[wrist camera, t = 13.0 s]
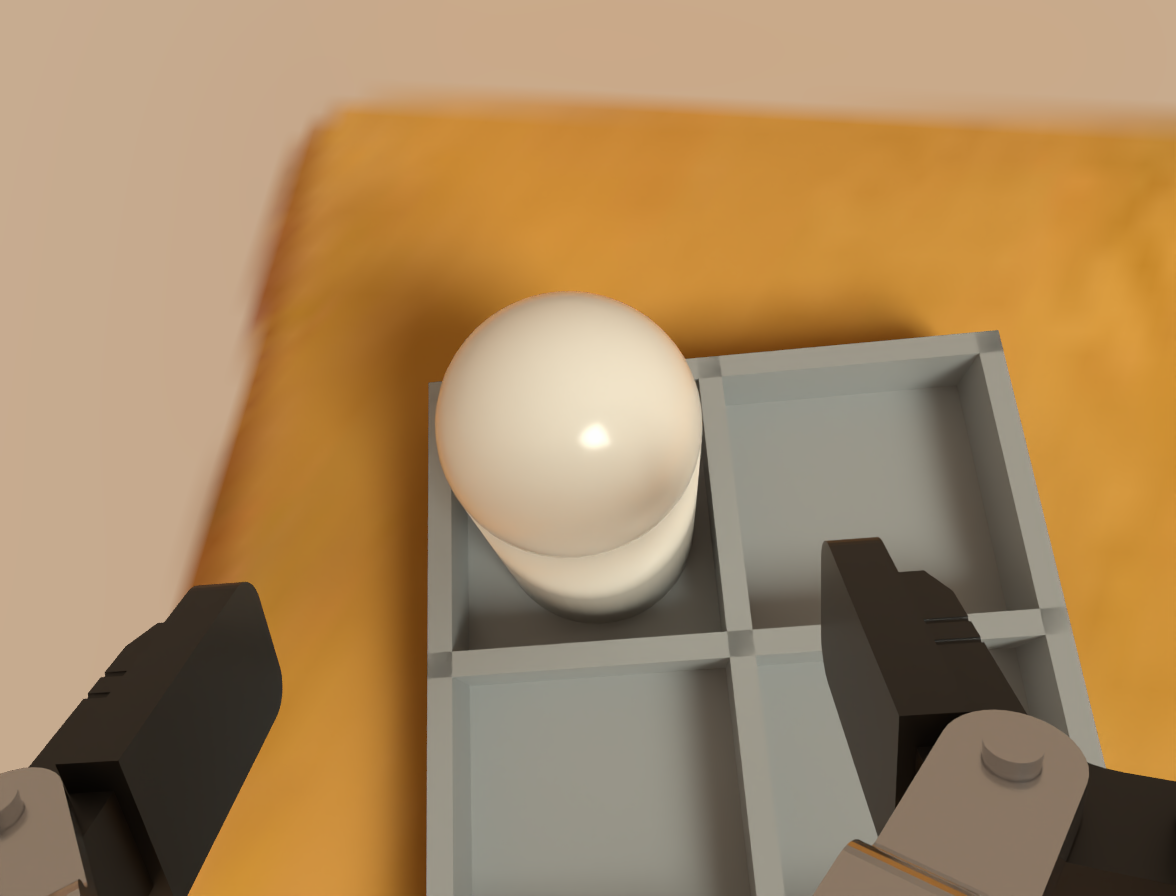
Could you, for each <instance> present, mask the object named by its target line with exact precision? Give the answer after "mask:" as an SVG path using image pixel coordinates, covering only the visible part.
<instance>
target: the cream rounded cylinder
mask: <svg viewBox="0 0 1176 896" xmlns="http://www.w3.org/2000/svg"><path fill="white" fill-rule="evenodd" d="M435 433H436V444H437V450H438V455H439V460H440V463H441V466H442V469H443V471H444V474H445V477H446V479H447V481H448V483H449V485H450V487H451V489H452V491H453V492H454V494H455V496H456V498H457V499H458V500H459V502H460V503H461V505H462V506H463V507H464V509H465V510H466V512H467V513H468V514H469V516H470V517H471V518H472V520H473V521H474V523H475V524H476V525H477V527H478V528H479V530H480V531H481V532H482V534H483V535H484V536H485V538H486V539H487V541H488V542H489V543H490V545H491V546H492V548H493V549H494V550H495V552H496V553H497V554H498V556H499V557H500V559H501V560H502V561H503V563H504V564H505V566H506V567H507V568H508V570H509V571H510V572H511V574H512V575H513V577H514V578H515V579H516V581H517V582H518V584H519V585H520V586H521V588H522V589H523V590H524V591H525V592H526V594H527V595H528V596H529V597H530V598H531V599H532V600H534V601H535V602H536V603H537V604H539V605H540V606H541V607H543V608H544V609H546V610H548V611H549V612H551V613H553V614H555V615H558V616H560V617H562V618H565V619H569V620H572V621H576V622H582V623H600V624H602V623H610V622H616V621H620V620H624V619H628V618H630V617H633V616H635V615H638V614H640V613H642V612H643V611H645V610H647V609H649V608H650V607H652V606H653V605H654V604H656V603H657V602H658V601H660V600H661V599H662V598H663V597H664V596H665V595H666V594H667V593H668V592H669V591H670V590H671V589H672V587H673V586H674V585H675V583H676V582H677V581H678V579H679V578H680V576H681V574H682V572H683V571H684V569H685V566H686V564H687V561H688V559H689V555H690V552H691V548H692V541H693V532H694V521H695V510H696V499H697V488H698V476H699V465H700V454H701V443H702V409H701V403H700V397H699V392H698V389H697V386H696V383H695V380H694V377H693V375H692V372H691V370H690V368H689V366H688V364H687V362H686V360H685V358H684V356H683V355H682V353H681V352H680V350H679V349H678V347H677V346H676V344H675V343H674V342H673V341H672V340H671V339H670V337H669V336H668V335H667V334H666V333H665V332H664V331H663V330H662V329H661V328H660V327H659V326H658V325H657V324H656V323H654V322H653V321H652V320H651V319H650V318H649V317H647V316H646V315H644V314H643V313H641V312H639V311H638V310H636V309H635V308H633V307H631V306H628V305H626V304H624V303H622V302H620V301H617V300H614V299H612V298H609V297H606V296H603V295H598V294H593V293H588V292H578V291H558V292H550V293H543V294H539V295H535V296H531V297H528V298H525V299H522V300H520V301H517V302H515V303H512V304H510V305H509V306H507V307H505V308H503V309H501V310H499V311H498V312H496V313H495V314H493V315H492V316H490V317H489V318H487V319H486V320H485V321H484V322H483V323H482V324H481V325H479V326H478V327H477V328H476V329H475V330H474V331H473V332H472V333H471V334H470V336H469V337H468V338H467V339H466V340H465V341H464V343H463V344H462V345H461V347H460V348H459V350H458V351H457V352H456V354H455V355H454V357H453V359H452V361H451V363H450V365H449V366H448V368H447V370H446V373H445V376H444V378H443V381H442V384H441V387H440V392H439V396H438V400H437V405H436V415H435Z"/></svg>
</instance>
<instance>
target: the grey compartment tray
mask: <svg viewBox="0 0 1176 896" xmlns="http://www.w3.org/2000/svg"><path fill="white" fill-rule="evenodd" d="M685 360H686V362H687V364H688V366H689V368H690V370H691V372H692V375H693V377H694V380H695V383H696V386H697V389H698V392H699V397H700V403H701V409H702V443H701V454H700V465H699V476H698V488H697V499H696V510H695V521H694V532H693V541H692V548H691V552H690V555H689V559H688V561H687V564H686V566H685V569H684V571H683V572H682V574H681V576H680V578H679V579H678V581H677V582H676V583H675V585H674V586H673V587H672V589H671V590H670V591H669V592H668V593H667V594H666V595H665V596H664V597H663V598H662V599H661V600H660V601H658V602H657V603H656V604H654V605H653V606H652V607H650V608H649V609H647V610H645V611H643V612H642V613H640V614H638V615H635V616H633V617H630V618H628V619H624V620H620V621H616V622H610V623H602V624H600V623H582V622H576V621H572V620H569V619H565V618H562V617H560V616H558V615H555V614H553V613H551V612H549V611H548V610H546V609H544V608H543V607H541V606H540V605H539V604H537V603H536V602H535V601H534V600H532V599H531V598H530V597H529V596H528V595H527V594H526V592H525V591H524V590H523V589H522V588H521V586H520V585H519V584H518V582H517V581H516V579H515V578H514V577H513V575H512V574H511V572H510V571H509V570H508V568H507V567H506V566H505V564H504V563H503V561H502V560H501V559H500V557H499V556H498V554H497V553H496V552H495V550H494V549H493V548H492V546H491V545H490V543H489V542H488V541H487V539H486V538H485V536H484V535H483V534H482V532H481V531H480V530H479V528H478V527H477V525H476V524H475V523H474V521H473V520H472V518H471V517H470V516H469V514H468V513H467V512H466V510H465V509H464V507H463V506H462V505H461V503H460V502H459V500H458V499H457V498H456V496H455V494H454V492H453V491H452V489H451V487H450V485H449V483H448V481H447V479H446V477H445V474H444V471H443V469H442V466H441V463H440V460H439V455H438V450H437V444H436V433H435V415H436V405H437V400H438V396H439V392H440V387H441V384H442V381H441V382H431V383H429V428H428V651H427V873H426V896H813V894H814V892H815V891H816V889H817V888H818V886H819V885H820V883H821V881H822V880H823V878H824V877H825V875H826V874H827V872H828V871H829V869H830V867H831V866H832V864H833V863H834V861H835V860H836V858H837V857H838V855H839V854H840V852H841V851H842V850H843V848H844V847H845V846H846V845H847V844H848V843H849V842H851V841H852V840H855V839H859V840H861V841H863V842H865V843H867V844H869V845H871V846H872V845H873V844H874V842H875V841H876V840H877V838H878V836H877V833H876V830H875V827H874V823H873V820H872V817H871V814H870V811H869V808H868V805H867V802H866V799H865V796H864V793H863V790H862V786H861V783H860V780H859V777H858V774H857V771H856V768H855V765H854V762H853V759H852V756H851V753H850V749H849V746H848V743H847V740H846V737H845V734H844V731H843V728H842V725H841V722H840V719H839V716H838V712H837V709H836V706H835V703H834V700H833V697H832V694H831V691H830V688H829V685H828V681H827V678H826V673H825V668H824V663H823V655H822V645H821V550H822V544H823V542H824V541H828V540H842V539H856V538H869V537H880V539H881V540H882V541H883V543H884V545H885V547H886V549H887V551H888V553H889V555H890V556H891V558H892V560H893V562H894V564H895V566H896V568H897V570H898V572H906V571H920V570H924V571H926V572H927V573H929V574H930V575H931V576H933V577H934V578H936V579H937V580H938V581H940V582H941V583H943V584H944V585H945V586H947V587H948V588H950V589H951V590H952V591H953V592H954V593H955V595H956V597H957V598H958V600H959V602H960V603H961V605H962V607H963V608H964V610H965V612H966V613H967V615H968V620H969V621H971V622H972V623H973V625H974V627H975V628H976V630H977V632H978V633H979V635H980V637H981V642H984V643H985V645H986V647H987V648H988V650H989V652H990V653H991V655H992V656H993V658H994V660H995V661H996V663H997V665H998V666H999V668H1000V670H1001V671H1002V673H1003V675H1004V676H1005V678H1006V680H1007V681H1008V683H1009V685H1010V686H1011V688H1012V690H1013V691H1014V693H1015V695H1016V696H1017V698H1018V700H1019V701H1020V703H1021V705H1022V706H1023V708H1024V710H1025V711H1026V713H1027V715H1029V716H1033V717H1035V718H1038V719H1040V720H1043V721H1045V722H1047V723H1049V724H1051V725H1052V726H1054V727H1056V728H1057V729H1059V730H1060V731H1062V732H1063V733H1065V734H1066V735H1067V736H1068V737H1069V738H1071V739H1072V740H1073V741H1074V742H1075V743H1076V745H1077V746H1078V747H1079V748H1080V749H1081V751H1082V753H1083V754H1084V756H1085V758H1086V760H1087V762H1088V763H1091V764H1093V765H1096V766H1100V767H1103V768H1106V767H1105V763H1104V759H1103V755H1102V751H1101V746H1100V742H1099V738H1098V734H1097V730H1096V726H1095V722H1094V718H1093V714H1092V710H1091V706H1090V702H1089V698H1088V694H1087V689H1086V685H1085V681H1084V677H1083V673H1082V669H1081V665H1080V661H1079V657H1078V653H1077V649H1076V645H1075V641H1074V637H1073V633H1072V628H1071V624H1070V620H1069V616H1068V612H1067V608H1066V604H1065V600H1064V596H1063V592H1062V588H1061V584H1060V580H1059V576H1058V571H1057V567H1056V563H1055V559H1054V555H1053V551H1052V547H1051V543H1050V539H1049V535H1048V531H1047V527H1046V523H1045V519H1044V514H1043V510H1042V506H1041V502H1040V498H1039V494H1038V490H1037V486H1036V482H1035V478H1034V474H1033V470H1032V466H1031V462H1030V457H1029V453H1028V449H1027V445H1026V441H1025V437H1024V433H1023V429H1022V425H1021V421H1020V417H1019V413H1018V409H1017V405H1016V400H1015V396H1014V392H1013V388H1012V384H1011V380H1010V376H1009V372H1008V368H1007V364H1006V360H1005V356H1004V352H1003V348H1002V343H1001V339H1000V335H999V331H998V330H995V331H984V332H974V333H963V334H952V335H941V336H930V337H919V338H908V339H898V340H887V341H876V342H865V343H854V344H843V345H832V346H821V347H811V348H800V349H789V350H778V351H767V352H756V353H745V354H735V355H724V356H713V357H702V358H691V359H685Z"/></svg>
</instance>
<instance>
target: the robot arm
mask: <svg viewBox="0 0 1176 896" xmlns="http://www.w3.org/2000/svg"><path fill="white" fill-rule="evenodd" d="M821 645H822V655H823V663H824V668H825V673H826V678H827V681H828V685H829V688H830V691H831V694H832V697H833V700H834V703H835V706H836V709H837V712H838V716H839V719H840V722H841V725H842V728H843V731H844V734H845V737H846V740H847V743H848V746H849V749H850V753H851V756H852V759H853V762H854V765H855V768H856V771H857V774H858V777H859V780H860V783H861V786H862V790H863V793H864V796H865V799H866V802H867V805H868V808H869V811H870V814H871V817H872V820H873V823H874V827H875V830H876V833H877V836H878V838H877V840H876V841H875V842H874V844H873V845H872V846H871V845H869V844H867V843H865V842H863V841H861V840H859V839H855V840H852V841H851V842H849V843H848V844H847V845H846V846H845V847H844V848H843V850H842V851H841V852H840V854H839V855H838V857H837V858H836V860H835V861H834V863H833V864H832V866H831V867H830V869H829V871H828V872H827V874H826V875H825V877H824V878H823V880H822V881H821V883H820V885H819V886H818V888H817V889H816V891H815V892H814V894H813V896H1176V782H1175V781H1169V780H1164V779H1158V778H1152V777H1146V776H1141V775H1135V774H1129V773H1123V772H1119V771H1114V770H1110V769H1106V768H1103V767H1100V766H1096V765H1093V764H1091V763H1088V762H1087V760H1086V758H1085V756H1084V754H1083V753H1082V751H1081V749H1080V748H1079V747H1078V746H1077V745H1076V743H1075V742H1074V741H1073V740H1072V739H1071V738H1069V737H1068V736H1067V735H1066V734H1065V733H1063V732H1062V731H1060V730H1059V729H1057V728H1056V727H1054V726H1052V725H1051V724H1049V723H1047V722H1045V721H1043V720H1040V719H1038V718H1035V717H1033V716H1029V715H1027V713H1026V711H1025V710H1024V708H1023V706H1022V705H1021V703H1020V701H1019V700H1018V698H1017V696H1016V695H1015V693H1014V691H1013V690H1012V688H1011V686H1010V685H1009V683H1008V681H1007V680H1006V678H1005V676H1004V675H1003V673H1002V671H1001V670H1000V668H999V666H998V665H997V663H996V661H995V660H994V658H993V656H992V655H991V653H990V652H989V650H988V648H987V647H986V645H985V643H984V642H981V637H980V635H979V633H978V632H977V630H976V628H975V627H974V625H973V623H972V622H971V621H969V620H968V615H967V613H966V612H965V610H964V608H963V607H962V605H961V603H960V602H959V600H958V598H957V597H956V595H955V593H954V592H953V591H952V590H951V589H950V588H948V587H947V586H945V585H944V584H943V583H941V582H940V581H938V580H937V579H936V578H934V577H933V576H931V575H930V574H929V573H927V572H926V571H924V570H920V571H906V572H898V570H897V568H896V566H895V564H894V562H893V560H892V558H891V556H890V555H889V553H888V551H887V549H886V547H885V545H884V543H883V541H882V540H881V539H880V537H869V538H856V539H842V540H828V541H824V542H823V544H822V550H821ZM281 699H282V675H281V670H280V666H279V663H278V659H277V656H276V653H275V649H274V646H273V642H272V639H271V636H270V632H269V629H268V626H267V622H266V619H265V615H264V612H263V609H262V605H261V602H260V599H259V596H258V593H257V591H256V589H255V588H254V586H253V585H252V584H250V583H248V582H239V583H226V584H212V585H199V586H194V587H192V588H191V589H190V590H189V591H188V592H187V594H186V595H185V596H184V597H183V599H182V600H181V601H180V603H179V604H178V605H177V607H176V608H175V609H174V610H173V612H172V613H171V614H170V616H169V617H168V618H167V620H166V621H165V622H164V623H157V624H156V625H154V626H153V627H152V628H150V629H149V630H148V631H146V632H145V633H143V634H142V635H141V636H139V637H138V638H137V639H135V640H134V641H133V642H131V643H130V644H128V645H127V646H126V647H125V648H124V649H123V651H122V652H121V653H120V654H119V655H118V657H117V658H116V659H115V661H114V662H113V663H112V664H111V665H110V667H109V668H108V669H107V670H106V672H105V677H101V678H100V679H99V680H98V682H97V683H96V684H95V685H94V687H93V688H92V689H91V690H90V691H89V693H88V699H83V700H82V701H81V703H80V704H79V705H78V706H77V708H76V709H75V710H74V711H73V713H72V714H71V715H70V717H69V718H68V719H67V720H66V721H65V723H64V724H63V725H62V727H61V728H60V729H59V730H58V731H57V733H56V734H55V735H54V736H53V738H52V739H51V740H50V741H49V743H48V744H47V745H46V746H45V748H44V749H43V750H42V751H41V753H40V754H39V755H38V756H37V758H36V759H35V760H34V761H33V762H32V764H31V765H30V766H29V767H28V768H22V769H17V770H12V771H8V772H5V773H2V774H0V896H187V895H188V893H189V891H190V889H191V887H192V885H193V883H194V881H195V879H196V877H197V875H198V873H199V871H200V869H201V867H202V865H203V863H204V861H205V859H206V857H207V855H208V853H209V851H210V849H211V847H212V845H213V843H214V841H215V839H216V837H217V835H218V833H219V831H220V829H221V827H222V825H223V823H224V821H225V819H226V817H227V815H228V813H229V811H230V809H231V807H232V805H233V803H234V801H235V799H236V797H237V795H238V793H239V791H240V789H241V787H242V785H243V783H244V781H245V779H246V777H247V775H248V773H249V771H250V769H251V767H252V765H253V763H254V761H255V759H256V757H257V755H258V753H259V751H260V749H261V747H262V745H263V743H264V741H265V739H266V737H267V735H268V733H269V731H270V729H271V727H272V725H273V723H274V721H275V719H276V717H277V714H278V712H279V709H280V705H281Z"/></svg>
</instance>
